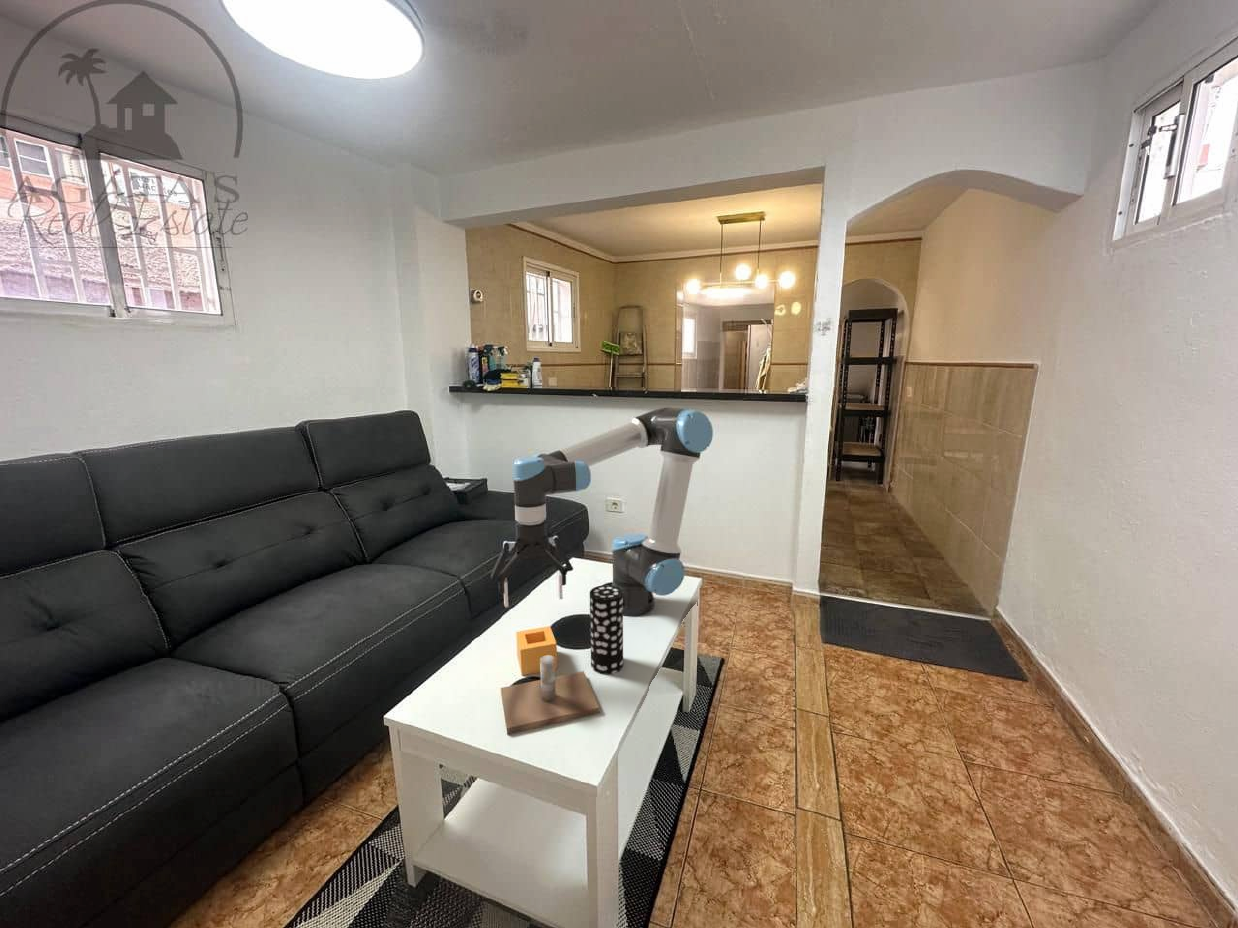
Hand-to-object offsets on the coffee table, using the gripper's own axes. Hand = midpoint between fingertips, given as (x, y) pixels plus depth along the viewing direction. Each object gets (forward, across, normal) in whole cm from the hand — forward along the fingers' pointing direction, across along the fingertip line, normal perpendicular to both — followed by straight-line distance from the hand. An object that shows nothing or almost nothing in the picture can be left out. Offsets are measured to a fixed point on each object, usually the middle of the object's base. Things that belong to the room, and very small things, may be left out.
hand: (533, 600), depth 124 cm
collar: (+17, 0, 0) cm, 17 cm away
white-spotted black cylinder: (+17, -17, +7) cm, 25 cm away
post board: (+17, 0, +17) cm, 24 cm away
